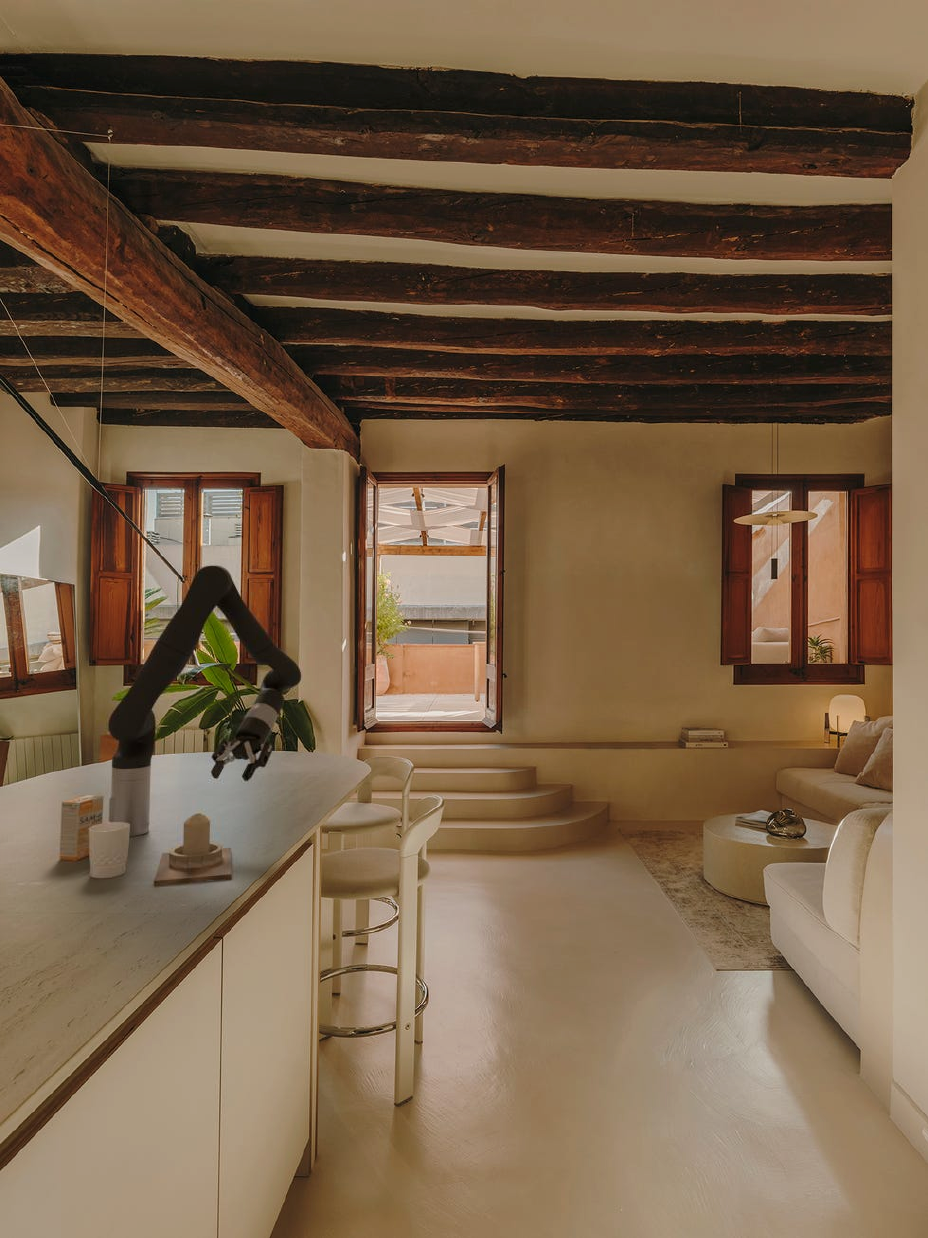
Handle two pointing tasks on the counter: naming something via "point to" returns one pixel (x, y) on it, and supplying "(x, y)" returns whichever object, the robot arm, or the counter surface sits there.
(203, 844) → the candle
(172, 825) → the counter surface
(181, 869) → the candle holder tray
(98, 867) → the white cup
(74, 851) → the supplement box
